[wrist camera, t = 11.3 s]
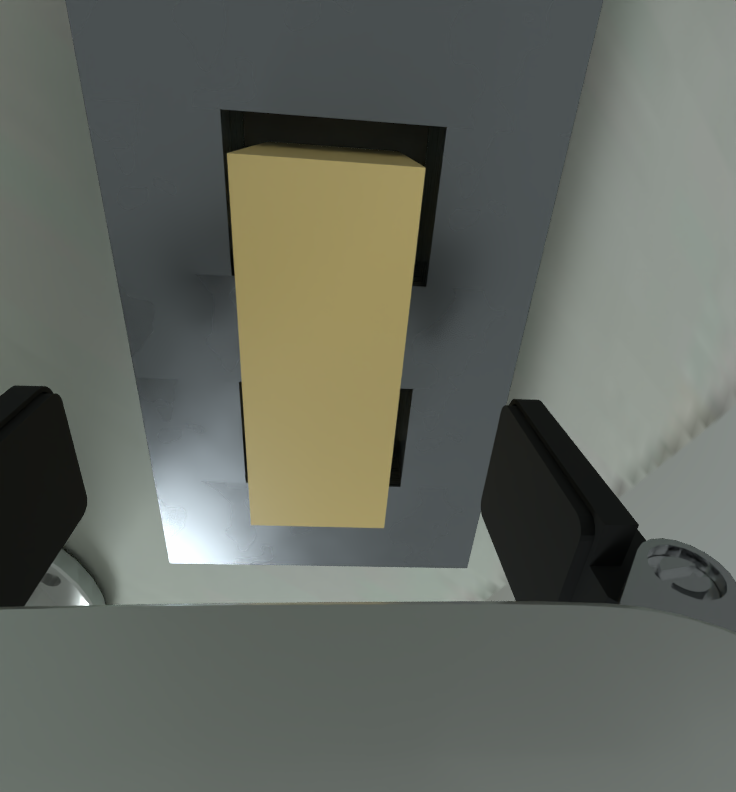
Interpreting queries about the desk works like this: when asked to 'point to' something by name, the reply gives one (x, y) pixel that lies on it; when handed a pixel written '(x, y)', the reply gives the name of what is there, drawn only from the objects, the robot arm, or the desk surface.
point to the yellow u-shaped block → (322, 324)
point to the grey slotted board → (435, 253)
